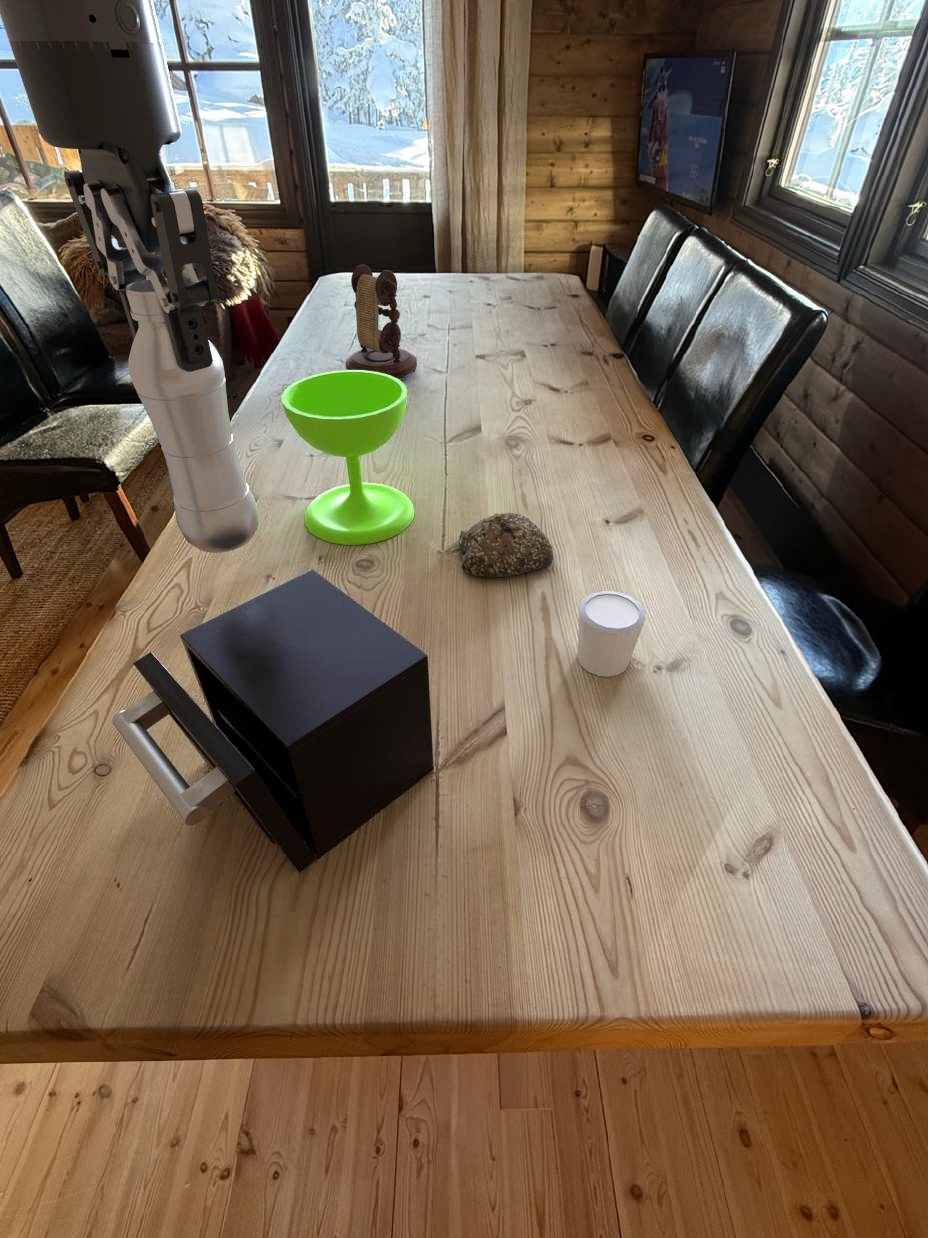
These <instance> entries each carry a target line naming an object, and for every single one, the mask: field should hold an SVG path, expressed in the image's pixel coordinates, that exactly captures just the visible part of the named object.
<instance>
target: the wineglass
mask: <svg viewBox="0 0 928 1238" xmlns="http://www.w3.org/2000/svg"><path fill="white" fill-rule="evenodd" d="M407 402H408V389H407V385H406V383H404V382H403V380H402V381H401V379H399V378H398V377H397V378H395V377H393V376H391V375H388V374H384V373H380V372H374V371H366V370H346V369H342V370H332V371H326V372H321V373H316V374H313V375H308V376H307V377H303V378H301V379H299V380H296V381H294V382H293V383H291V384H290V385H288V386H287V387H286V388H285V389H284V390H283V392H282V394H281V404H282V407H283V410H284V413H285V416H286V418H287V420H288V421H289V423H290V424H291V426H292V427H293V429H294V430H295V432H296V433H297V434H298V436H299V437H300V438H301V439H303V440H304V441H305V442H306V443H307V444H309V446H310V447H313V448H315V449H316V450H317V451H320V452H323V453H326V454H328V455H331V456H334V457H339V458H345V461H346V468H347V478H348V483H347V484H343V485H339V486H336V487H333V488H331V489H328V490H326V491H324V492H322V493H321V494H319V495H318V496H316V497H315V498H314V499H313V500H312V501H311V502H310V503H309V504H308V505H307V507H306V511H305V513H304V517H303V518H304V525H305V528H307V530H308V532H310V533H311V534H312V535H313V536H315V537H316V538H318V539H320V540H323V541H325V542H328V543H331V544H332V543H333V544H338V545H344V546H346V545H347V546H359V545H360V546H362V545H369V544H376V543H378V542H382V541H386V540H388V539H390V538H393V537H394V536H397V535H400V533H402V532H403V531H404V530H405V529H407V528H409V526H410V525H411V523H412V522H413V520H414V517H415V513H416V512H415V508H414V504H413V501H411V499H410V498H409V497H408V495H406V493H404V492H402V491H400V490H399V489H397V488H395V487H392V486H389V485H386V484H381V483H375V482H363V481H364V480H363V472H362V463H361V456H366V455H368V454H371V453H373V452H374V451H376V450H378V449H379V448H380V447H382V446H383V445H386V443H388V442H389V441H390V440H391V439H392V437H393V436H394V434H395V433H396V432H397V431H398V429H399V428H400V426H401V424H402V421H403V418H404V415H405V412H406V409H407V405H408V404H407Z"/></svg>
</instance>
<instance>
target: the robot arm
mask: <svg viewBox="0 0 928 1238" xmlns="http://www.w3.org/2000/svg"><path fill="white" fill-rule="evenodd" d="M0 18H1V21H2V25H3V28H4V30H5V33H6V36H7V39H8V42H9V46H10V48H11V51H12V54H13V57H14V60H15V64H16V66H17V70H18V72H19V75H20V78H21V82H22V84H23V87H24V90H25V93H26V96H27V98H28V99H27V100H28V103H29V105H30V108H31V109H30V110H31V112H32V114H33V117H34V120H35V124H36V127H37V129H38V133H39V135H40V137H41V138H42V140H43V141H44V142H45V143H47V144H48V145H49V146H52V147H54V148H60V149H65V150H66V149H68V150H78V157H79V161H80V168H81V169H75V170H74V169H73V170H65V171H64V172H63V177H64V183H65V185H66V187H67V189H68V192H69V194H70V197H71V200H72V203H73V205H74V208H75V210H76V211H75V212H76V213H77V216H78V219H79V222H80V224H81V228H82V230H83V233H84V235H85V238H86V241H87V244H88V247H89V249H90V252H91V255H92V257H93V260H94V264H95V267H96V269H97V270H98V272H99V274H101V275H102V276H104V275H108V278H109V282H110V284H111V285H112V287H113V288H114V289H115V290H116V291H119V292H118V293H119V296H120V299H121V302H122V306H123V309H124V312H125V316H126V318H127V322H128V325H129V328H130V332H131V335H132V338H133V340H134V339H135V336H136V334H137V331H138V328H139V324H138V321H136V320H134V319H133V318H132V316H131V312H130V309H131V307H130V304H129V300H128V297H127V294H126V288H125V287H126V286H127V285H129V284H131V283H134V282H137V281H142V280H148V279H150V280H151V283H152V285H153V287H154V290H155V292H156V294H157V296H158V299H159V301H160V304H161V306H162V308H163V309H164V311H165V312H163V314H164V317H165V321H166V325H167V328H168V332H169V336H170V339H171V343H172V347H173V350H174V354H175V357H176V361H177V364H178V366H179V367H180V368H181V369H183V370H185V371H187V372H192V371H196V370H199V369H203V368H207V367H209V366H211V365H212V362H213V357H212V353H211V349H210V345H209V341H210V340H209V336H208V332H207V328H206V325H205V320H204V315H203V312H202V307H203V306H206V304H207V303H212V302H216V301H217V300H218V290H217V285H216V284H217V283H216V278H215V272H214V265H213V259H212V253H211V245H210V240H209V239H210V238H209V234H208V227H207V221H206V220H207V219H206V215H205V209H204V208H205V207H204V203H203V202H204V201H203V199H202V197H201V194H200V193H199V191H198V190H197V189H195V188H193V189H176V188H174V185H173V182H172V179H171V177H170V175H169V173H168V170H167V167H166V165H165V162H164V159H163V157H162V154H161V149H162V148H163V146H165V145H166V146H167V145H168V146H169V145H173V144H175V143H177V142H179V140H180V139H181V138H182V137H181V136H182V128H181V122H180V118H179V114H178V109H177V105H176V100H175V95H174V91H173V87H172V82H171V78H170V74H169V68H168V64H167V60H166V55H165V54H166V53H165V51H164V45H163V41H162V38H161V33H160V28H159V23H158V19H157V15H156V10H155V6H154V1H153V0H0ZM193 264H195V267H196V270H195V269H194V267H193ZM164 273H165V274H164ZM166 279H167V281H166ZM167 282H168V283H167ZM208 340H209V341H208Z"/></svg>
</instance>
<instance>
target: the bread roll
mask: <svg viewBox="0 0 928 1238" xmlns="http://www.w3.org/2000/svg"><path fill="white" fill-rule="evenodd" d="M550 542H551V541H550V539H549V538H547V536H546V535H545V532H543V531H542V530H541V528H539V527H538V525H536V524H535V523H534V522H532V520H530V518H528V517H527V516H524V515H521V514H519V513H516V512H512V513H511V512H506V513H505V512H503V513H494V514H492V515H489V516H488V517H484V518H483V519H481V520H479V521H478V522H476V523H475V524H473V525H472V526H471V527H469V530H460V535H459V536H458V542H457V544H458V547H457V552H458V554H459V555H460V557H461V569H462V570H464V572H466V573H468V574H469V575H471V576H473V577H486V578H489V577H491V578H492V577H498V578H502V577H503V578H504V577H510V576H516V575H518V576H519V575H522V574H527V573H528V572H531V571H535V570H541V569H544V568H547V567H549V566H550V565H551V564H552V563H553V560H554V552H553V545H551V543H550Z"/></svg>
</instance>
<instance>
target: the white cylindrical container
mask: <svg viewBox="0 0 928 1238" xmlns="http://www.w3.org/2000/svg"><path fill="white" fill-rule="evenodd" d="M578 608H579V611H578V636H577V639H578V640H577V660H578V663H579V664H580V666H581V667H582V668H583V669H584V670H585V671H587V672H588V673H589V674H593V675H595V676H597V677H598V676H599V677H606V678H609V677H610V678H611V677H614V676H619V675H620V674H622V673H624V672H625V671H626V669H627V668H628V666H629V665H630V662H631V659H632V656H633V653H634V651H635V648H636V645H637V643H638V640H639V638H640V635H641V632H642V629H643V627H644V624H645V621H646V610H645V609H644V607H643V606H642V605H641V603H640V602H639V601H637V600H636V599H635V598H634V597H632V596H631V595H627V594H624V593H622V592H619V591H611V590H601V591H596V592H593V593H591V594H588V595H586V596H584V598H583V599H582V600H581V601H580V603H579V607H578Z"/></svg>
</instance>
